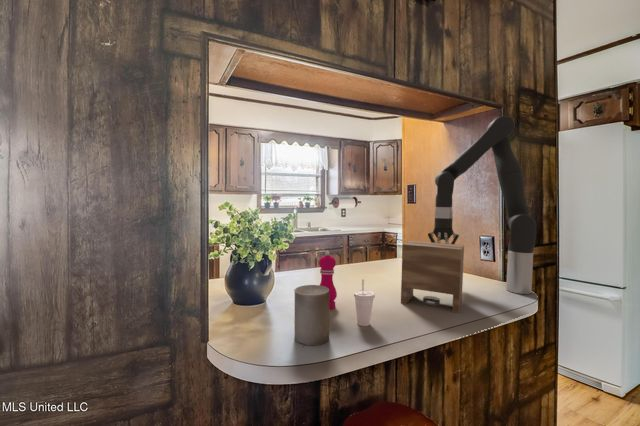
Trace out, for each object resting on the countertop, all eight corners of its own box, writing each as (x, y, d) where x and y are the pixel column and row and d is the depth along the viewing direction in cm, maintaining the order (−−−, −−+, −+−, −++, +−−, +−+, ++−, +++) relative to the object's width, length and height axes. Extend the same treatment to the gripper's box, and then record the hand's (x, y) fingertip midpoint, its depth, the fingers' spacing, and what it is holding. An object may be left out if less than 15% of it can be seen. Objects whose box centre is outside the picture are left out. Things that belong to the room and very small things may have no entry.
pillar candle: (325, 330, 96) (326, 279, 96) (332, 344, 87) (332, 289, 86) (292, 332, 95) (292, 280, 94) (295, 347, 85) (295, 290, 85)
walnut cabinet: (408, 294, 133) (409, 240, 132) (461, 303, 123) (464, 245, 122) (400, 302, 122) (402, 244, 121) (458, 312, 113) (461, 249, 112)
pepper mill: (315, 309, 113) (316, 252, 112) (316, 303, 120) (317, 249, 119) (336, 310, 113) (337, 253, 112) (336, 303, 120) (337, 249, 119)
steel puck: (424, 300, 127) (424, 295, 127) (440, 302, 124) (441, 297, 124) (421, 304, 121) (421, 299, 121) (438, 307, 119) (439, 302, 119)
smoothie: (349, 321, 103) (350, 277, 103) (366, 318, 106) (367, 275, 105) (359, 329, 97) (361, 282, 97) (378, 326, 100) (379, 280, 99)
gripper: (461, 217, 146) (460, 255, 147) (428, 216, 153) (428, 253, 154) (459, 218, 140) (458, 258, 140) (425, 217, 146) (425, 255, 147)
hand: (442, 255), depth 147 cm, fingers closed on sage stick, 2 cm apart
